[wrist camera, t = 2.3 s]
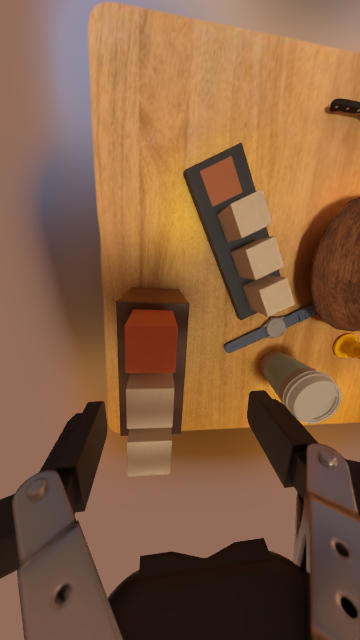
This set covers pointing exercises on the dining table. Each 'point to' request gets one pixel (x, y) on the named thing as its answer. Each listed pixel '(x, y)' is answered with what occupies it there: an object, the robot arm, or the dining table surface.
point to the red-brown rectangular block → (150, 341)
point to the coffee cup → (301, 387)
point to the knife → (345, 106)
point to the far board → (216, 227)
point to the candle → (347, 346)
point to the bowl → (338, 270)
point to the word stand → (151, 387)
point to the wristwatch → (271, 328)
